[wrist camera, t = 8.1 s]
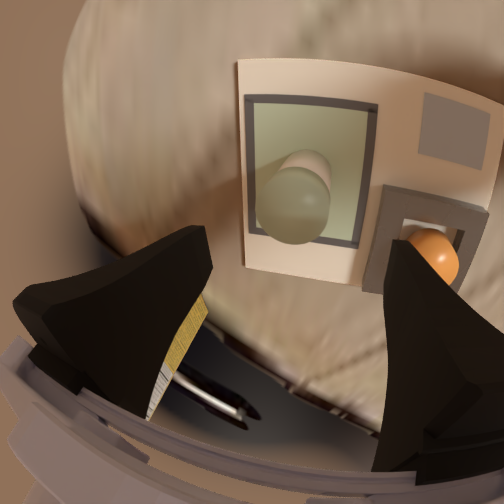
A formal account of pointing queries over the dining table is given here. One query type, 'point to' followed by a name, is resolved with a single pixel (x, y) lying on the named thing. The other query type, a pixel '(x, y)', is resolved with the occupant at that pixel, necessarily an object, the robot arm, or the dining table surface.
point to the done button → (436, 252)
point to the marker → (296, 199)
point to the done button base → (425, 210)
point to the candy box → (177, 351)
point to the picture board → (359, 152)
